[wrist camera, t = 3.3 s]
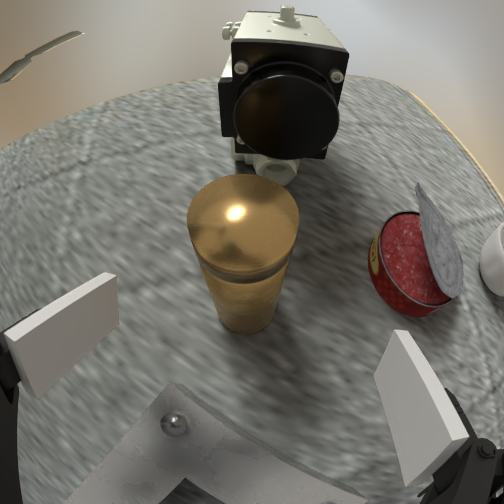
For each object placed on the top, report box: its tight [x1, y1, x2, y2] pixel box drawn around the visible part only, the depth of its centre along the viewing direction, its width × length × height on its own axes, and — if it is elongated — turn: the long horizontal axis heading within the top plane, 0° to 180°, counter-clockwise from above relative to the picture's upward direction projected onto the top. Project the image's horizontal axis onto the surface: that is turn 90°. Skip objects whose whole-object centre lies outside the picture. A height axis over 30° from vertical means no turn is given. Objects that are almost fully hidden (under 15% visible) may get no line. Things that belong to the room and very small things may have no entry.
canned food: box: [368, 183, 464, 317], centre depth 21 cm, size 11×10×10 cm
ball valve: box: [218, 5, 349, 186], centre depth 22 cm, size 18×8×18 cm, turn 177°
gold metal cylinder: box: [187, 174, 299, 334], centre depth 16 cm, size 5×5×12 cm
